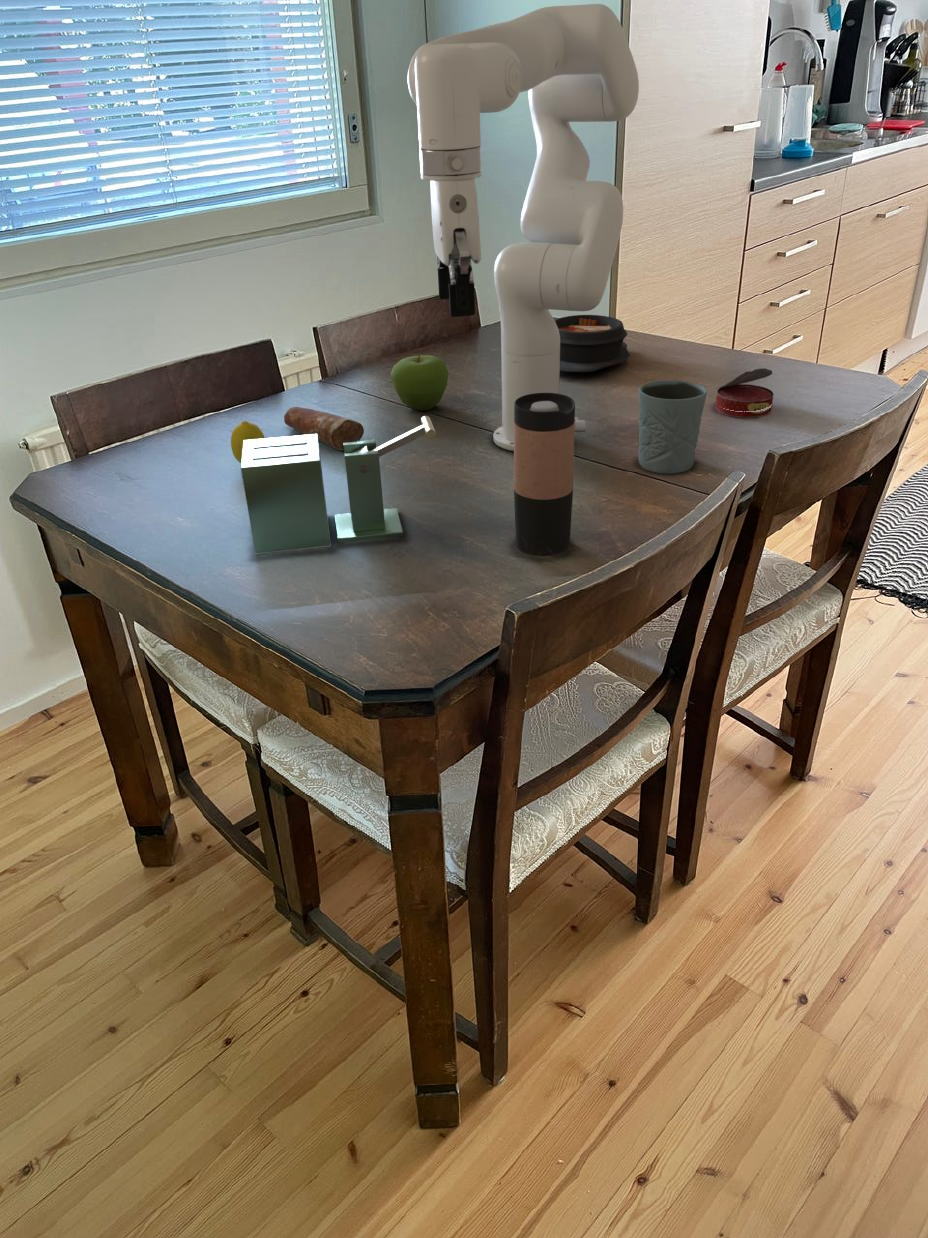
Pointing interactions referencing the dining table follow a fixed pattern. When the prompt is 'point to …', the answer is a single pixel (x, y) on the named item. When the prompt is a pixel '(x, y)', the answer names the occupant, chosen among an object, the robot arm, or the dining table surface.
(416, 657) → the dining table surface
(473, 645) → the dining table surface
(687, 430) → the green embossed cup
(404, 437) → the lever
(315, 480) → the toaster
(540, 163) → the robot arm
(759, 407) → the canned food
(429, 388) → the apple
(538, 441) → the travel mug
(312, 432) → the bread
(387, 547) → the dining table surface
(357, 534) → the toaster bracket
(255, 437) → the lemon
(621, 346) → the casserole
